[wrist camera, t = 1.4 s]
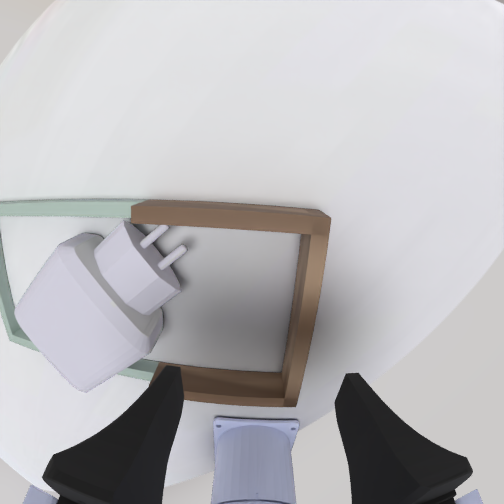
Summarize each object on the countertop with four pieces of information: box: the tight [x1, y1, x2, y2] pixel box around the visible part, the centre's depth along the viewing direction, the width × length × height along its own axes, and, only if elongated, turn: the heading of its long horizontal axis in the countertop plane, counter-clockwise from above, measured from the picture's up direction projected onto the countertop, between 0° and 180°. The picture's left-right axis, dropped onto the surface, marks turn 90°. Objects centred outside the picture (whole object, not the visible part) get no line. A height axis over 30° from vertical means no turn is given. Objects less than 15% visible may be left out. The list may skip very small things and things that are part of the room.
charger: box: [14, 220, 187, 393], centre depth 18 cm, size 5×9×15 cm
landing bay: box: [0, 199, 159, 381], centre depth 19 cm, size 14×18×2 cm
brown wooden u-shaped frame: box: [131, 200, 331, 407], centre depth 18 cm, size 14×11×3 cm
